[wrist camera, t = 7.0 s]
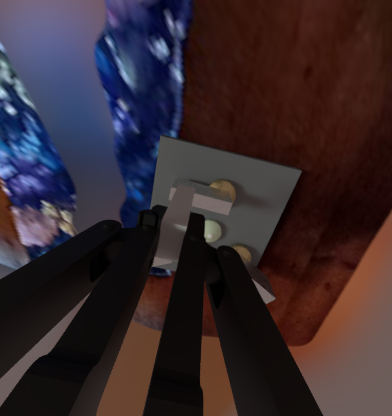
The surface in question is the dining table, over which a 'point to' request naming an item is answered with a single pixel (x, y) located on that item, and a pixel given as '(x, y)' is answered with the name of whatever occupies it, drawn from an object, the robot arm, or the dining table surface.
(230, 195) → the knob
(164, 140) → the base plate
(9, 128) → the dining table surface
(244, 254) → the knob
